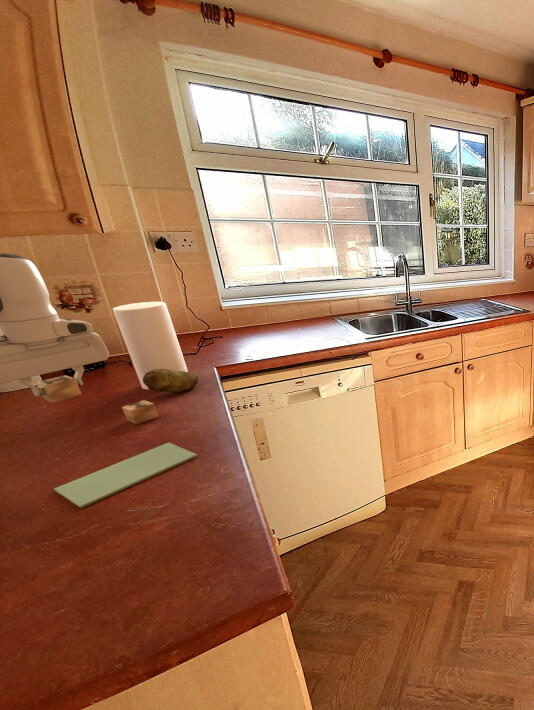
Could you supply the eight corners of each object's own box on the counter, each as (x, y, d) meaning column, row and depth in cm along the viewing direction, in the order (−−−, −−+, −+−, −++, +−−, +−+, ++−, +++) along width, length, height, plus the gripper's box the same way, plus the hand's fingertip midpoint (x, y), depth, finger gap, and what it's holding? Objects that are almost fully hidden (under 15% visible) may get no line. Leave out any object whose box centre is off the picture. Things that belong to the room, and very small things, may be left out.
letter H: (52, 402, 93) (44, 385, 92) (43, 398, 95) (35, 381, 94) (81, 394, 97) (74, 378, 96) (72, 391, 99) (65, 374, 98)
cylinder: (189, 372, 145) (165, 299, 136) (190, 383, 136) (164, 305, 126) (143, 381, 138) (114, 305, 129) (140, 392, 129) (109, 311, 119)
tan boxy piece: (136, 424, 109) (130, 410, 107) (127, 420, 111) (121, 406, 110) (158, 416, 113) (153, 402, 111) (149, 413, 115) (144, 399, 114)
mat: (80, 508, 78) (79, 506, 77) (54, 490, 83) (53, 488, 83) (197, 456, 94) (197, 454, 94) (169, 444, 99) (168, 442, 99)
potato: (202, 390, 130) (194, 365, 127) (149, 401, 122) (139, 376, 119) (199, 382, 136) (192, 359, 133) (148, 393, 128) (139, 368, 125)
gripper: (-36, 344, 81) (-2, 410, 86) (100, 322, 98) (121, 378, 103) (-46, 340, 83) (-13, 404, 89) (87, 319, 100) (108, 374, 105)
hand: (60, 390), depth 96 cm, fingers closed on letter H, 5 cm apart
